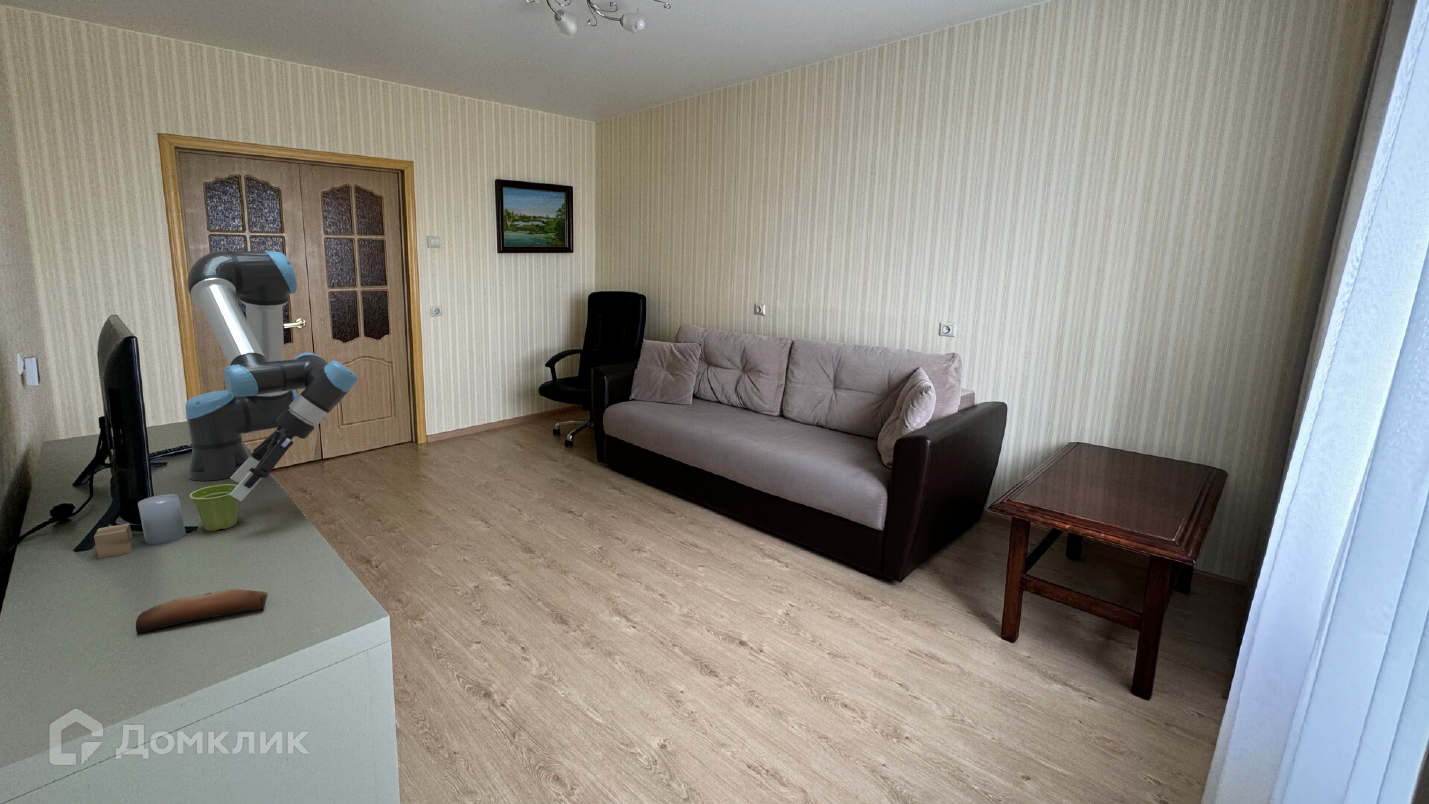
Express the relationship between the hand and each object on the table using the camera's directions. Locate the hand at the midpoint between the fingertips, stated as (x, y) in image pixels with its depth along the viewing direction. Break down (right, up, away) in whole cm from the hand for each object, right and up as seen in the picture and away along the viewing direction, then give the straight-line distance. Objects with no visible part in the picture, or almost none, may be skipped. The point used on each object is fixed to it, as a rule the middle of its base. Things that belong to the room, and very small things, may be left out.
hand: (235, 489), depth 153 cm
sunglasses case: (+21, -18, -36) cm, 45 cm away
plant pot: (-4, -9, +1) cm, 10 cm away
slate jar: (-12, -10, -6) cm, 16 cm away
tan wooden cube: (-16, -12, -13) cm, 24 cm away
